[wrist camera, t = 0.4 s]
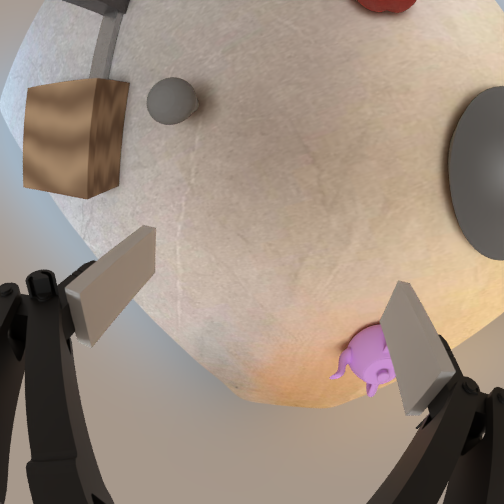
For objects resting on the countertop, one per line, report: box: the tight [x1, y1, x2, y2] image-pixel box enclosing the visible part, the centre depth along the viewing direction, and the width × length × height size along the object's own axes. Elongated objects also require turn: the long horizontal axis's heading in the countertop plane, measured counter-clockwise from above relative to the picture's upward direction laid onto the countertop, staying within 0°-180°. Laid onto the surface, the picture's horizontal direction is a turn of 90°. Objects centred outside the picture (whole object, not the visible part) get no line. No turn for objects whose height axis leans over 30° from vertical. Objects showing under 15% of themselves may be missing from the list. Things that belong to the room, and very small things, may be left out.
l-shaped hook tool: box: [63, 0, 130, 79], centre depth 28 cm, size 22×4×12 cm, turn 170°
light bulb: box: [147, 77, 199, 125], centre depth 32 cm, size 6×6×10 cm
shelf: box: [23, 78, 130, 199], centre depth 36 cm, size 17×16×8 cm
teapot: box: [330, 324, 396, 397], centre depth 44 cm, size 12×14×9 cm
